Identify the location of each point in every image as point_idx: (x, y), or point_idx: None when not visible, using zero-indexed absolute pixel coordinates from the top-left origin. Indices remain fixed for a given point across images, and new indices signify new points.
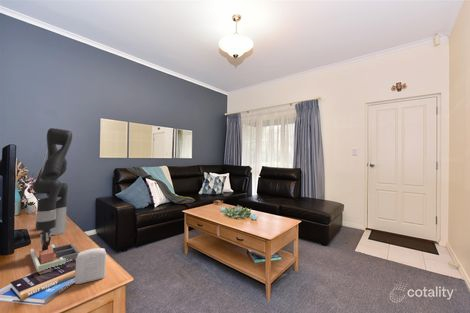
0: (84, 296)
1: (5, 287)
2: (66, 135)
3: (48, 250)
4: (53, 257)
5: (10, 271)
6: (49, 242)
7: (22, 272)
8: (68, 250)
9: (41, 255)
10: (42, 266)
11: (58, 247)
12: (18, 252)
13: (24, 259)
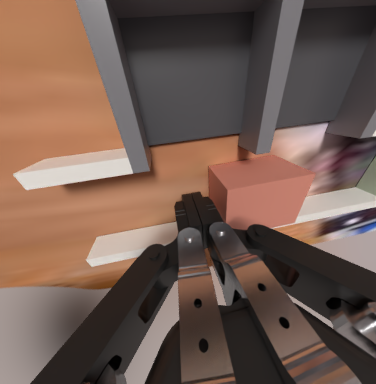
0: None
1: (334, 238)
2: None
3: (251, 202)
4: (285, 161)
5: None
6: (318, 252)
7: (284, 229)
8: (286, 55)
9: (293, 221)
10: None
11: (140, 134)
12: (52, 277)
13: None
